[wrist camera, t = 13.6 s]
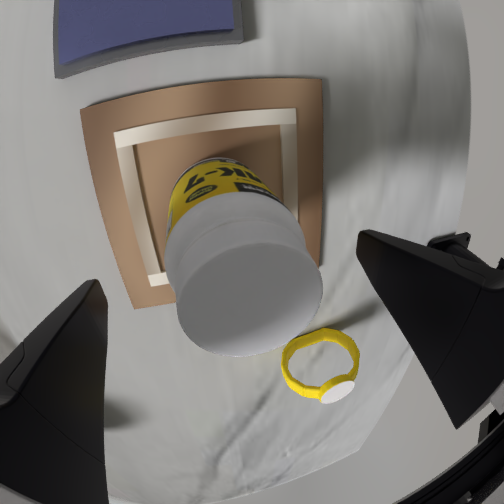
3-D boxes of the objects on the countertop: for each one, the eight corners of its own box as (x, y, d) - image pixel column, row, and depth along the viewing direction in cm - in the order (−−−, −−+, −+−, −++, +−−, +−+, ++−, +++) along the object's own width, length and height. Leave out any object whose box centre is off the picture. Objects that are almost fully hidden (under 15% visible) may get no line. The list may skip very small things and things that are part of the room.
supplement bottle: (266, 157, 14) (357, 227, 7) (256, 241, 16) (316, 355, 9) (169, 155, 13) (154, 229, 6) (170, 243, 15) (170, 372, 8)
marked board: (316, 79, 13) (323, 79, 12) (314, 269, 19) (319, 275, 18) (83, 109, 11) (78, 109, 10) (134, 303, 17) (133, 311, 16)
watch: (337, 313, 23) (377, 363, 18) (336, 334, 24) (372, 382, 19) (269, 341, 22) (301, 401, 17) (274, 361, 23) (302, 417, 18)
